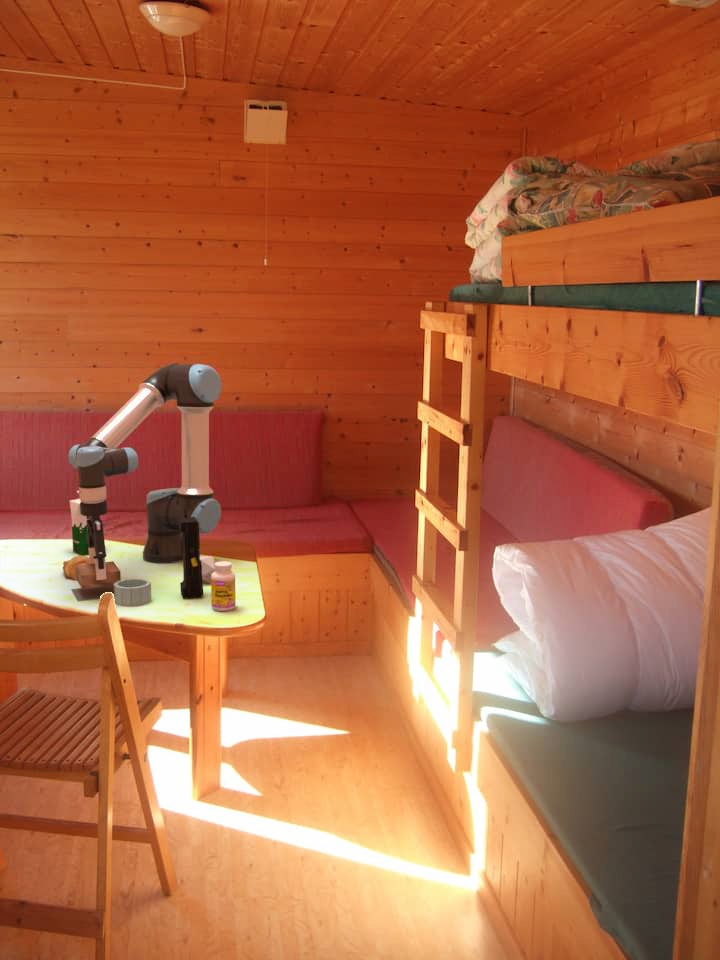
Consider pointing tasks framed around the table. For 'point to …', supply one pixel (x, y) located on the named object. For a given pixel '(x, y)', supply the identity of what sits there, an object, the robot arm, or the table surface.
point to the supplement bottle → (223, 587)
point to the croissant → (70, 565)
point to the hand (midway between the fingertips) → (98, 574)
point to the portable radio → (191, 558)
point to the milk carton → (79, 529)
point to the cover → (88, 575)
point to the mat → (91, 592)
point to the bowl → (132, 592)
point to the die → (207, 568)
